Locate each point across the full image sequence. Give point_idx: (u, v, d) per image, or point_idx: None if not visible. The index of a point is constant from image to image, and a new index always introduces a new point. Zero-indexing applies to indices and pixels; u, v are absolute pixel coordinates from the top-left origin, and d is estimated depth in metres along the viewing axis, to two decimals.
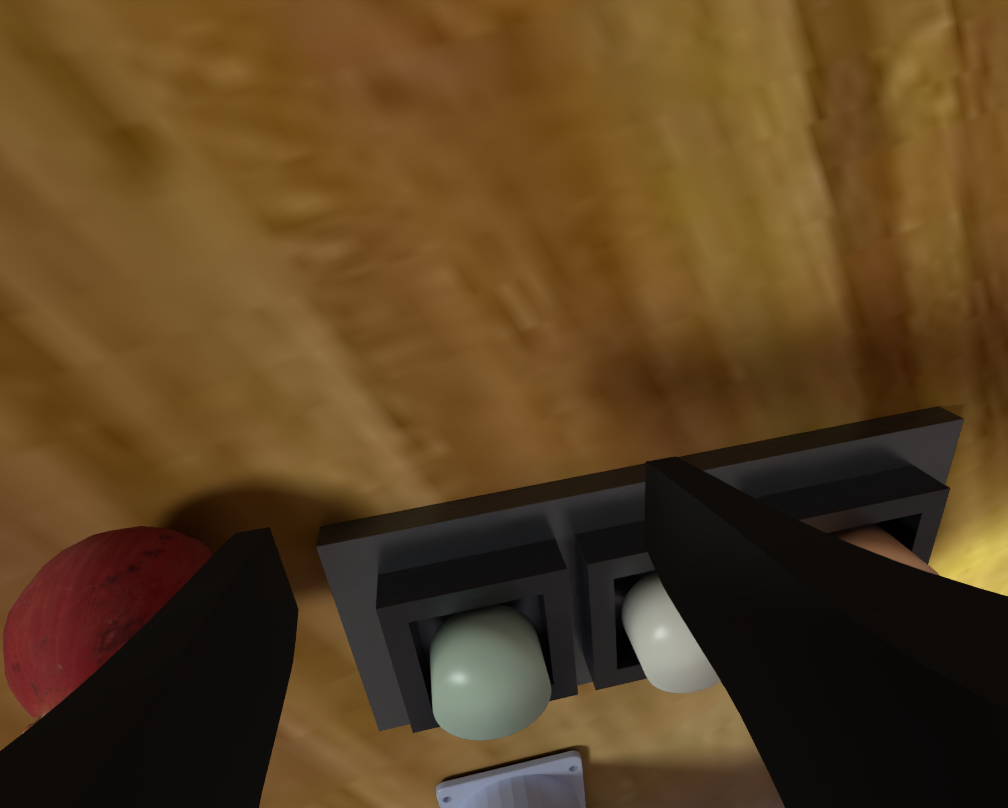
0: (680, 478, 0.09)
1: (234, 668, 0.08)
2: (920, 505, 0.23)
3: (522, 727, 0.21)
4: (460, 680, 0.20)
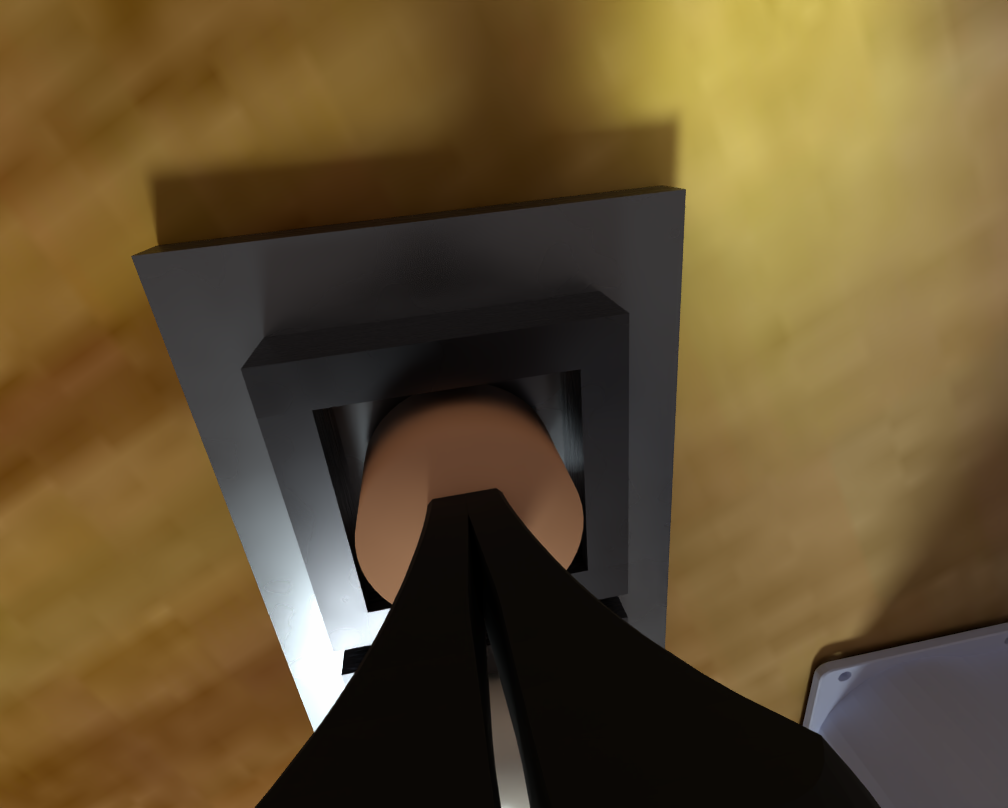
0: (478, 514, 0.09)
1: (476, 620, 0.08)
2: (291, 422, 0.10)
3: None
4: None
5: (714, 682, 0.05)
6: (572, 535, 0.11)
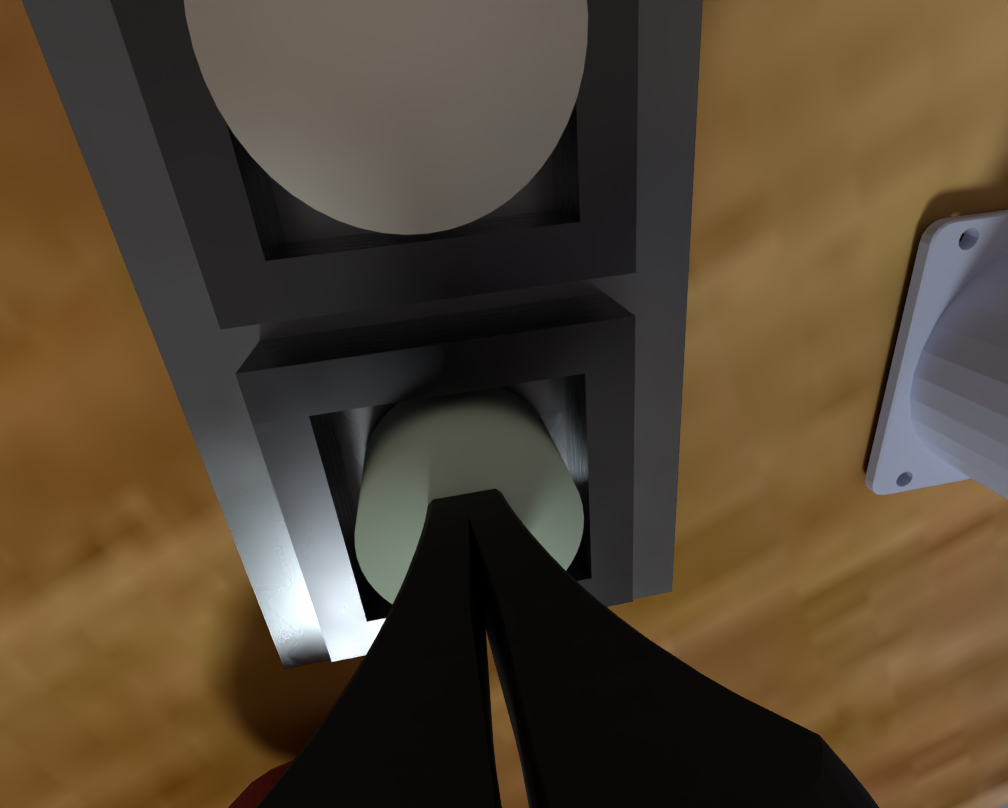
0: (478, 514, 0.09)
1: (477, 620, 0.08)
2: None
3: (566, 480, 0.10)
4: None
5: (713, 683, 0.05)
6: None
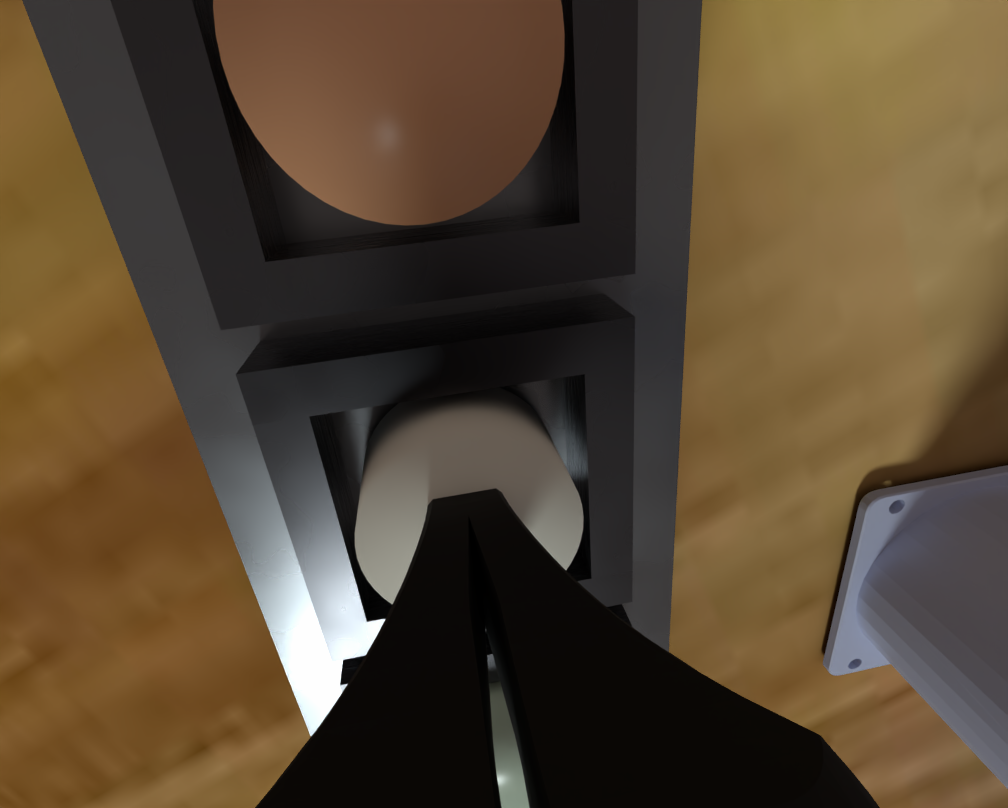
0: (478, 514, 0.09)
1: (477, 620, 0.08)
2: None
3: None
4: None
5: (713, 682, 0.05)
6: (549, 70, 0.08)
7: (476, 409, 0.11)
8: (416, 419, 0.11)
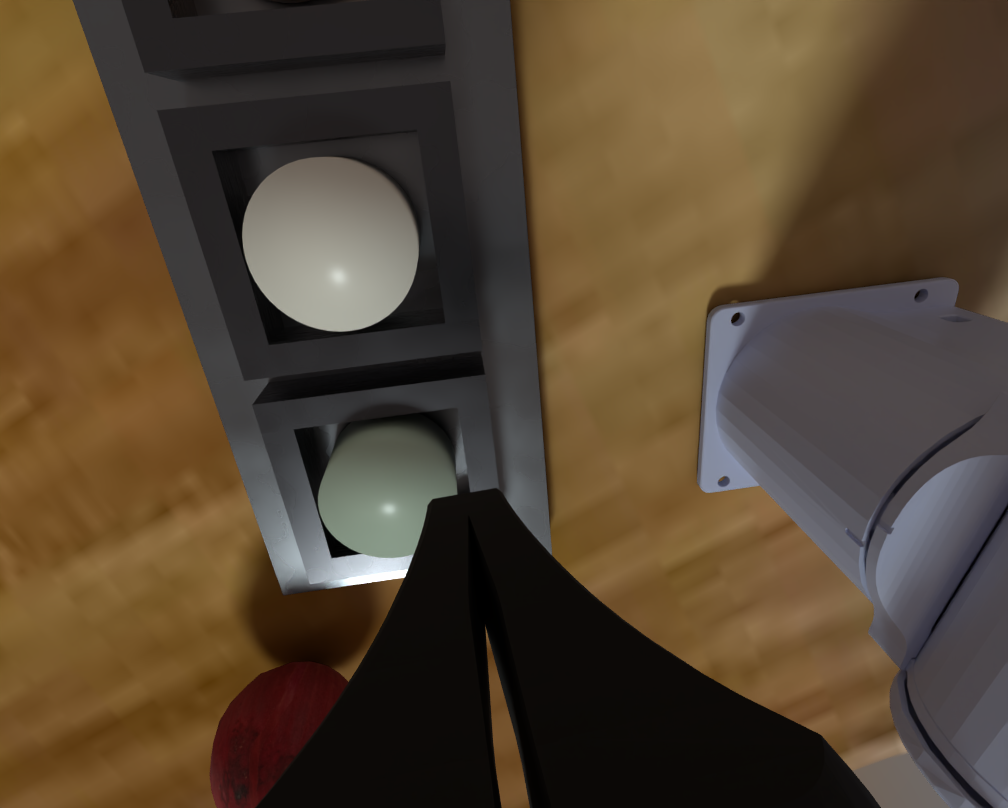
0: (478, 514, 0.09)
1: (477, 620, 0.08)
2: None
3: (443, 471, 0.17)
4: (349, 535, 0.18)
5: (714, 682, 0.05)
6: None
7: (338, 157, 0.14)
8: None
